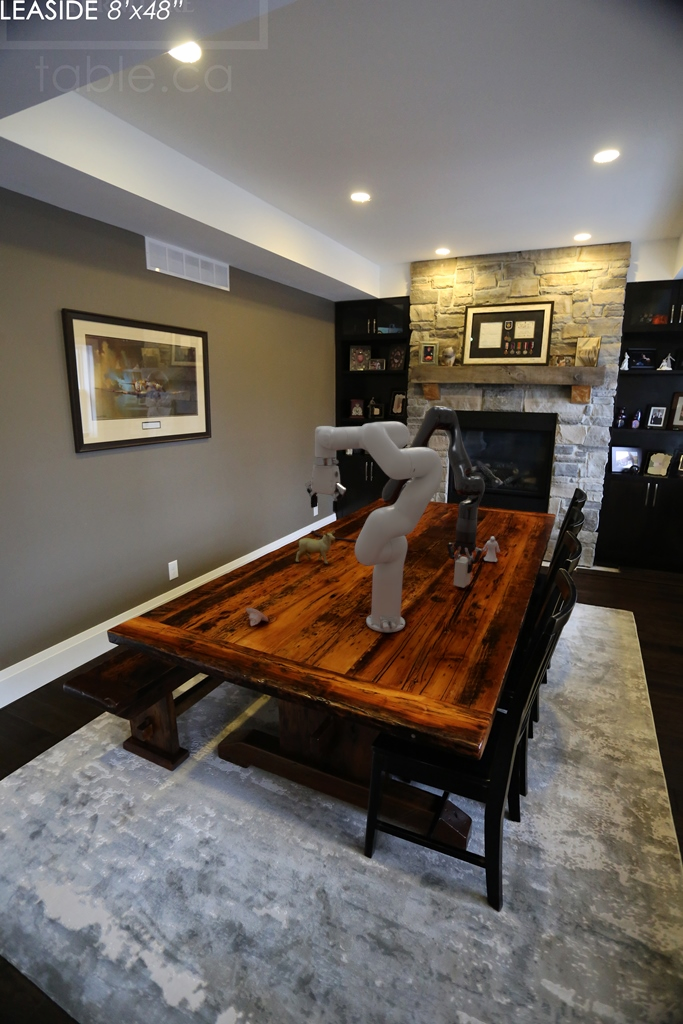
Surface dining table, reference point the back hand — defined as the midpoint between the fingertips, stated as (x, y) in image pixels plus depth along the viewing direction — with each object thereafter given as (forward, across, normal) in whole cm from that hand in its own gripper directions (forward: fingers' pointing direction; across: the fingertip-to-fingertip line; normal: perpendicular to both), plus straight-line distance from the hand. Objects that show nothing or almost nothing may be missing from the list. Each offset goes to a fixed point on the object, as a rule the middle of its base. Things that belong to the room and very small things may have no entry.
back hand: (462, 571), depth 192 cm
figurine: (+7, +1, -38) cm, 38 cm away
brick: (+5, 0, 0) cm, 5 cm away
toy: (+7, +62, +12) cm, 63 cm away
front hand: (-25, +40, +36) cm, 59 cm away
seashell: (+7, +42, +69) cm, 82 cm away
